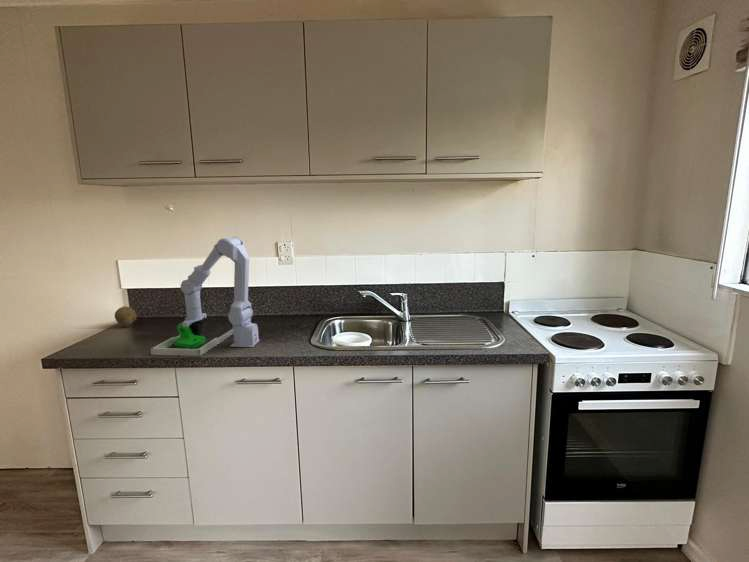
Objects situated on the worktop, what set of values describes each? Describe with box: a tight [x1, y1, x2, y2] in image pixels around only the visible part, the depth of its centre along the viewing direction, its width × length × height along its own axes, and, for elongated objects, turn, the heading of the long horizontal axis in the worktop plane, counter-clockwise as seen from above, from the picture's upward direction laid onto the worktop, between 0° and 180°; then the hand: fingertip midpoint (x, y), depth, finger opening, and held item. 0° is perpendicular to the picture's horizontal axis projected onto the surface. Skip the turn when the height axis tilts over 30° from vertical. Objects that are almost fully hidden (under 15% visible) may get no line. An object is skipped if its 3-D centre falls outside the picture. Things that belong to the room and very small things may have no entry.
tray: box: [150, 336, 220, 357], centre depth 162 cm, size 20×14×2 cm
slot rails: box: [174, 328, 233, 344], centre depth 178 cm, size 20×20×2 cm
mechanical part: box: [173, 321, 207, 349], centre depth 164 cm, size 12×6×8 cm, turn 65°
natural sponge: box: [114, 306, 138, 328], centre depth 195 cm, size 9×9×10 cm
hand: (197, 338), depth 169 cm, fingers closed
